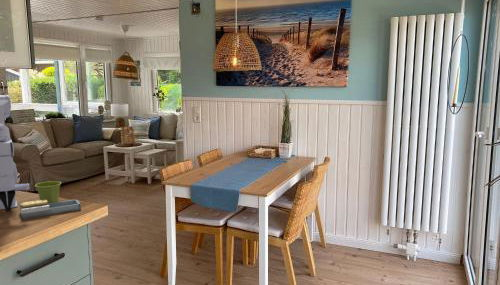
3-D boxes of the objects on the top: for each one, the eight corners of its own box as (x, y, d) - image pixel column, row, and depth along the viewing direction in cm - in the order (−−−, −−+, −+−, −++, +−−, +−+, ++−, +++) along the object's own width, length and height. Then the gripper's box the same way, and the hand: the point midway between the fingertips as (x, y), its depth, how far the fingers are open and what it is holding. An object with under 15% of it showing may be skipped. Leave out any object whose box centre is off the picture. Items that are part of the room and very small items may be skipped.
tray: (47, 209, 151) (47, 203, 151) (77, 204, 157) (76, 199, 157) (50, 214, 145) (49, 208, 145) (80, 209, 151) (80, 203, 151)
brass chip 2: (35, 207, 147) (34, 200, 147) (46, 205, 149) (46, 199, 149) (36, 210, 144) (35, 203, 144) (48, 208, 146) (47, 201, 146)
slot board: (20, 212, 147) (19, 203, 146) (47, 208, 152) (46, 199, 151) (22, 219, 140) (21, 210, 139) (50, 214, 145) (49, 205, 144)
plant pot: (31, 206, 155) (29, 185, 154) (52, 200, 163) (51, 179, 162) (46, 209, 151) (44, 188, 149) (67, 203, 159) (66, 182, 158)
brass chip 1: (22, 209, 145) (21, 202, 145) (34, 207, 147) (33, 200, 147) (23, 212, 142) (22, 205, 141) (35, 210, 144) (35, 203, 143)
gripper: (-20, 179, 131) (-16, 218, 133) (29, 174, 139) (32, 210, 141) (-20, 175, 137) (-16, 212, 139) (27, 170, 145) (30, 205, 147)
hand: (8, 211), depth 141 cm, fingers closed
